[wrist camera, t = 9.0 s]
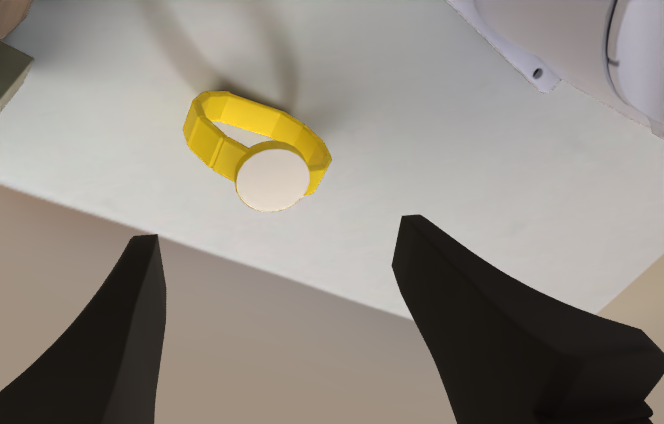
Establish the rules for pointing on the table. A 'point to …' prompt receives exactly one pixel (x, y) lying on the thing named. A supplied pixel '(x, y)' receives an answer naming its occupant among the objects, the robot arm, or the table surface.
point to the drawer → (12, 50)
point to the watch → (257, 150)
